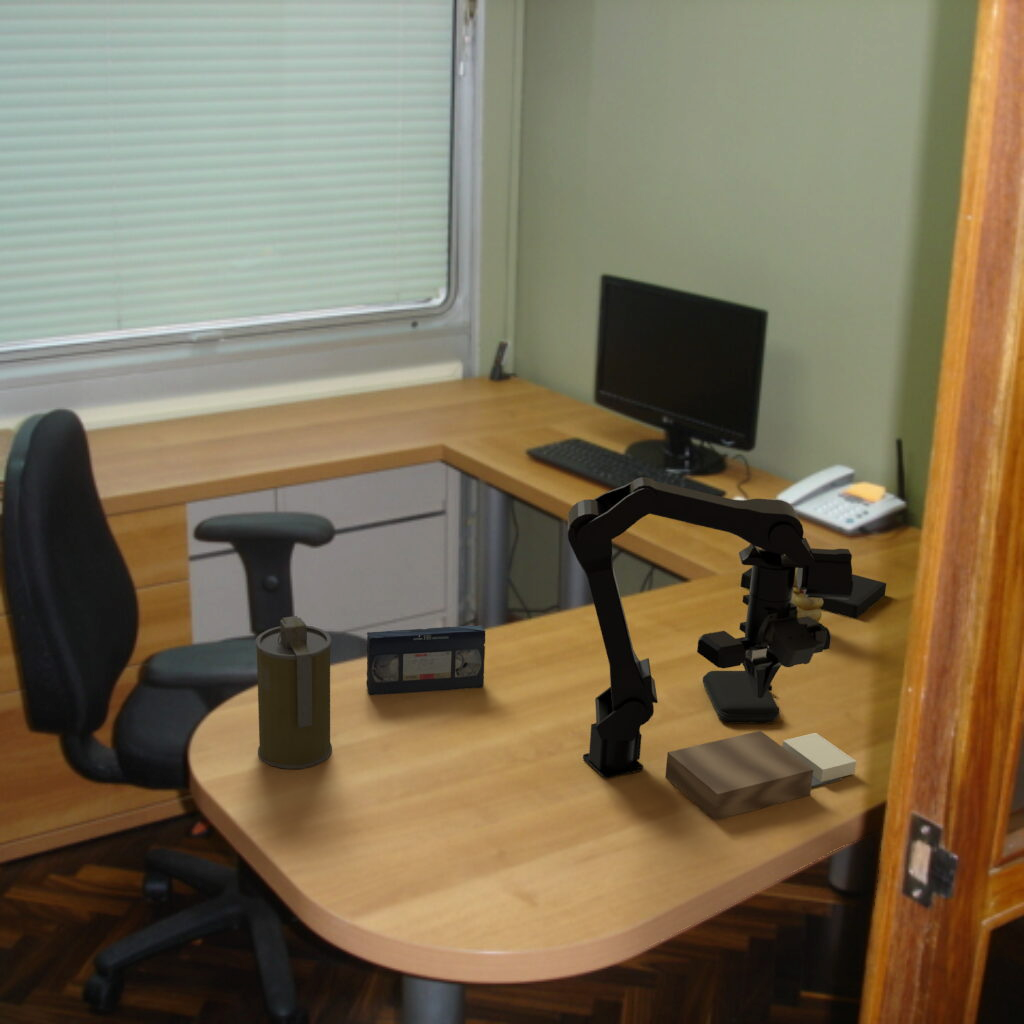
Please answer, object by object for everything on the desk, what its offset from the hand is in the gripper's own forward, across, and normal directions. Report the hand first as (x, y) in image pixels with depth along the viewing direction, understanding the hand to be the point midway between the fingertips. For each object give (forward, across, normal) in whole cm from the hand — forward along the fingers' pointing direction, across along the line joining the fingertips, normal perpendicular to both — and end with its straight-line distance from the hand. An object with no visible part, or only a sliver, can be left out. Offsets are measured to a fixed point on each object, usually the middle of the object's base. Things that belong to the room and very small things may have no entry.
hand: (758, 697), depth 191 cm
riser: (+12, -4, -3) cm, 13 cm away
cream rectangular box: (+10, +10, -2) cm, 14 cm away
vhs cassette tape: (+12, -33, +41) cm, 54 cm away
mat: (+12, +8, -2) cm, 14 cm away
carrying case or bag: (+12, +12, +18) cm, 25 cm away
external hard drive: (+12, +51, +51) cm, 73 cm away
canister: (+12, -58, +29) cm, 66 cm away
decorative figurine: (+12, +36, +38) cm, 54 cm away
